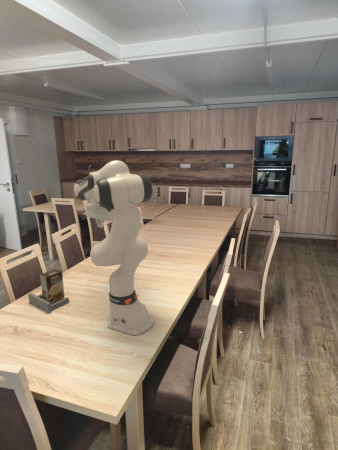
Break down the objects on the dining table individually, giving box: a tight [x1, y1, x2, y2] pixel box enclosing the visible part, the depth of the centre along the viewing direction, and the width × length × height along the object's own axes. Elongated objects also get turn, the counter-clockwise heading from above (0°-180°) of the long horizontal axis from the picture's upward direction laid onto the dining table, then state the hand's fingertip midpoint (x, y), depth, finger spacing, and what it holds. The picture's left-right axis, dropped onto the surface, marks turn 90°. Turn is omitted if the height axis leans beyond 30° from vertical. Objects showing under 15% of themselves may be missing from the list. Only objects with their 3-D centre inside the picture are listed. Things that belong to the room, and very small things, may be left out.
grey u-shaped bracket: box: [27, 292, 70, 314], centre depth 154 cm, size 18×12×5 cm
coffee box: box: [39, 269, 66, 304], centre depth 154 cm, size 9×6×16 cm
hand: (100, 227), depth 159 cm, fingers closed
